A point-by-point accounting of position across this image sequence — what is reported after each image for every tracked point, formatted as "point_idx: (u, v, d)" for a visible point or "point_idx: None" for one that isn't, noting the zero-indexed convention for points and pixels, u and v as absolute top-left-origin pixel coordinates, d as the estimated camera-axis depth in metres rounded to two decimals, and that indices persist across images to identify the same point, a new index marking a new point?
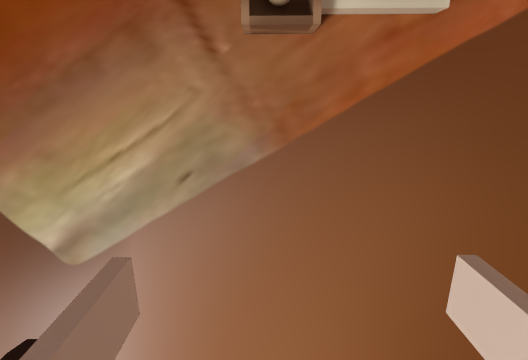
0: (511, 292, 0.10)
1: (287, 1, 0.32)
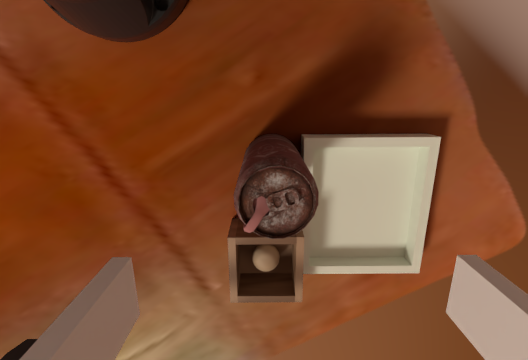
0: (511, 292, 0.10)
1: None
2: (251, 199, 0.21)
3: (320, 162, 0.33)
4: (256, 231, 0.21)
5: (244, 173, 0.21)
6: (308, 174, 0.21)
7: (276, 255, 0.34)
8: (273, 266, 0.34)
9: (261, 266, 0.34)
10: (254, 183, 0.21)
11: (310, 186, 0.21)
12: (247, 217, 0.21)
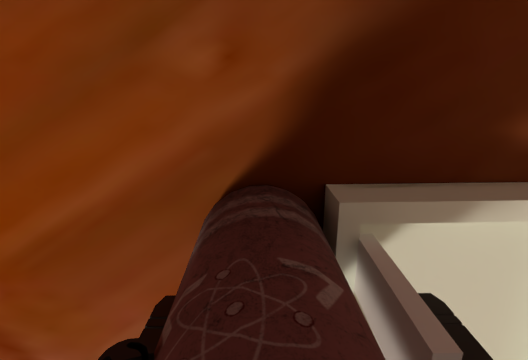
0: (381, 260, 0.11)
1: None
2: None
3: None
4: None
5: None
6: None
7: None
8: None
9: None
10: None
11: None
12: None
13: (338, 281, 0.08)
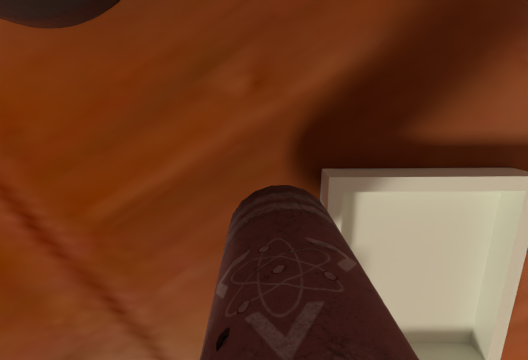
0: None
1: None
2: None
3: (350, 209, 0.22)
4: None
5: None
6: None
7: None
8: None
9: None
10: None
11: None
12: None
13: (352, 257, 0.11)
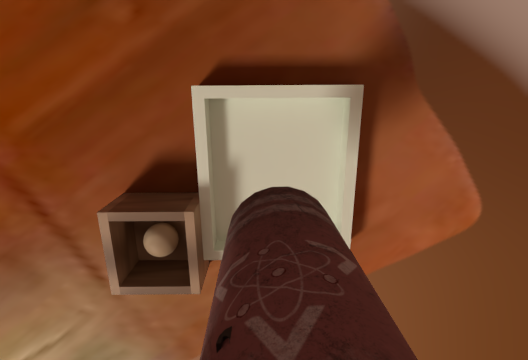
0: None
1: (169, 253, 0.29)
2: None
3: (222, 121, 0.27)
4: None
5: None
6: None
7: (170, 236, 0.28)
8: (166, 250, 0.28)
9: (151, 250, 0.27)
10: None
11: None
12: None
13: (352, 260, 0.11)
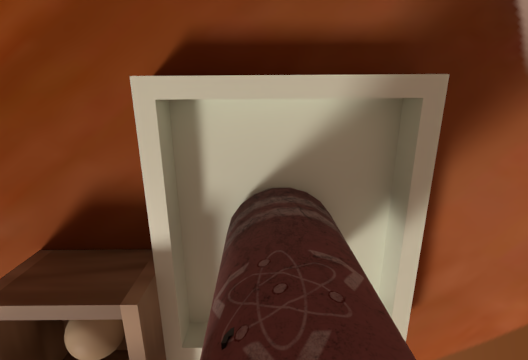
0: None
1: None
2: None
3: (194, 137, 0.16)
4: None
5: None
6: None
7: (109, 329, 0.17)
8: (101, 353, 0.16)
9: (74, 355, 0.16)
10: None
11: None
12: None
13: (359, 270, 0.10)
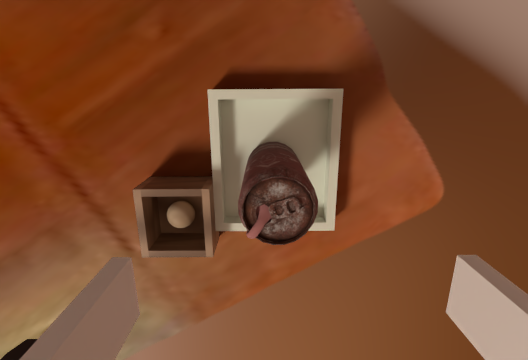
0: (511, 292, 0.10)
1: (188, 225, 0.35)
2: (254, 207, 0.22)
3: (231, 117, 0.34)
4: (258, 237, 0.23)
5: (248, 182, 0.22)
6: (308, 184, 0.22)
7: (189, 211, 0.34)
8: (185, 222, 0.34)
9: (173, 222, 0.34)
10: (257, 192, 0.22)
11: (310, 195, 0.22)
12: (250, 224, 0.23)
13: (297, 161, 0.28)
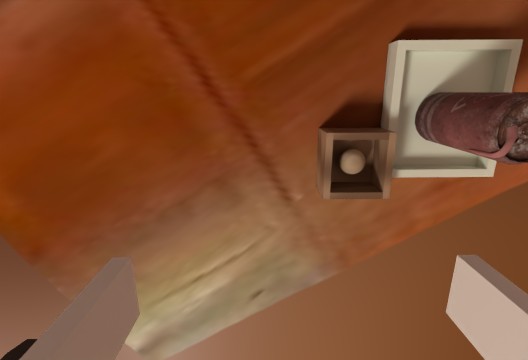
0: (511, 292, 0.10)
1: (358, 172, 0.38)
2: (506, 127, 0.25)
3: (405, 69, 0.36)
4: (504, 156, 0.25)
5: (502, 105, 0.25)
6: None
7: (363, 157, 0.37)
8: (361, 167, 0.37)
9: (351, 166, 0.37)
10: (512, 113, 0.25)
11: None
12: (499, 144, 0.25)
13: None
